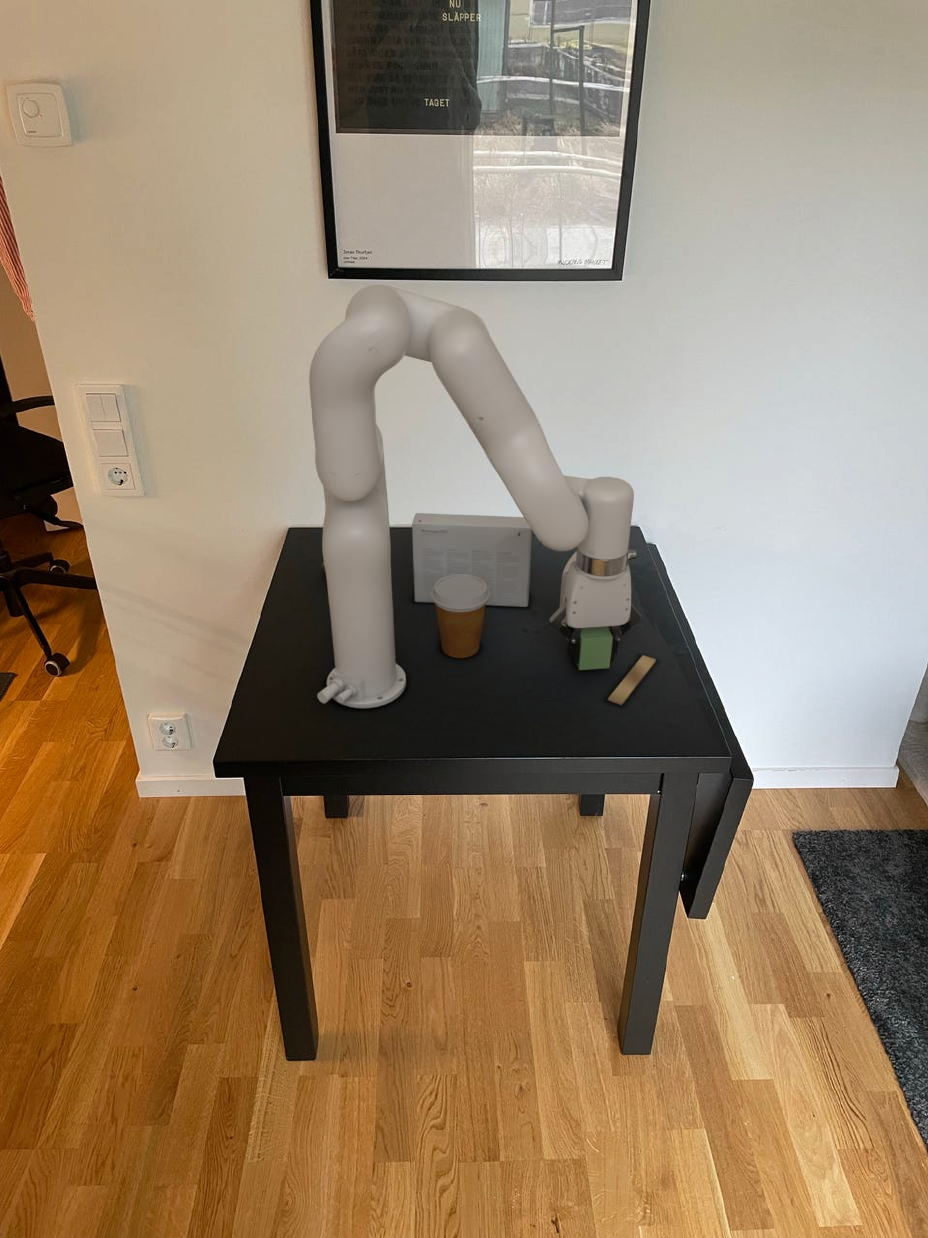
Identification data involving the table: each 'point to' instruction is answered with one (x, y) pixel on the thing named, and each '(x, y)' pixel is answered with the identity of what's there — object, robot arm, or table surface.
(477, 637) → the disposable coffee cup
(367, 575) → the robot arm
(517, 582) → the skincare box
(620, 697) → the strip
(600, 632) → the green box
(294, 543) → the table surface
